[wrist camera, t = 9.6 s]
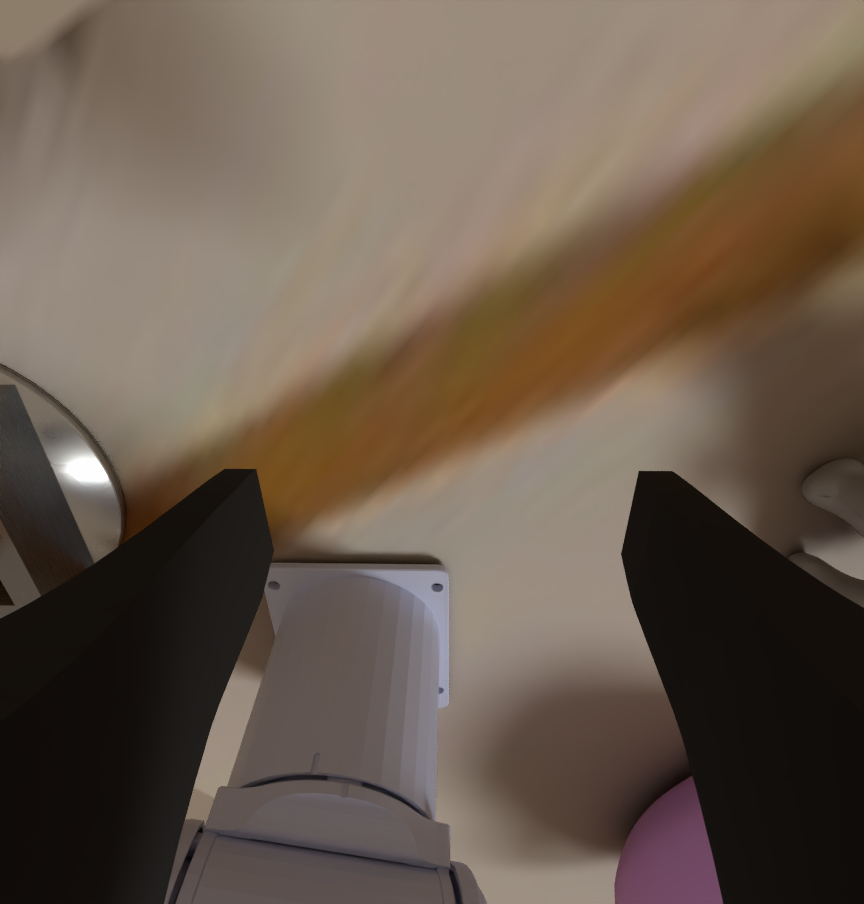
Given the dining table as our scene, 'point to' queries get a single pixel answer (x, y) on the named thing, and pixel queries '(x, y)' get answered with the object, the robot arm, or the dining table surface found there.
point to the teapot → (669, 854)
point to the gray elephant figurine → (846, 495)
